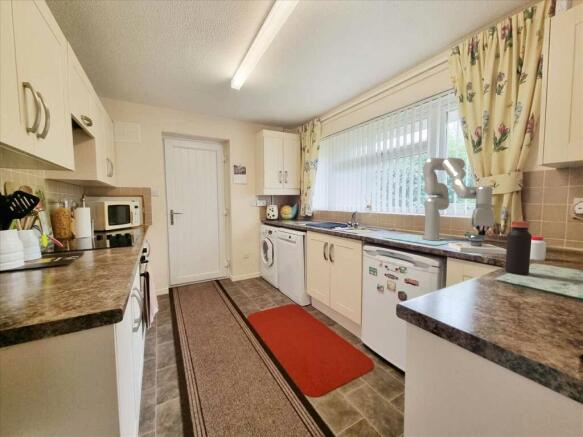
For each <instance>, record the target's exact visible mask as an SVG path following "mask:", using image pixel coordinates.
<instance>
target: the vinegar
mask: <svg viewBox="0 0 583 437" xmlns="http://www.w3.org/2000/svg"><path fill="white" fill-rule="evenodd" d="M510 228H512V229H511V231H509V232H508V233H507V237H506V248H505V249H506V254H505V265H504V271H505V272H506V273H508V274H512V275H519V276H528V275H529V274H530V262H531V259H530V253H531V240H532V236H533V235H532V234H531V233H530V232H529V231H528V230H529V228H530V221H524V220H523V221H522V220H511V227H510Z"/></svg>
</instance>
